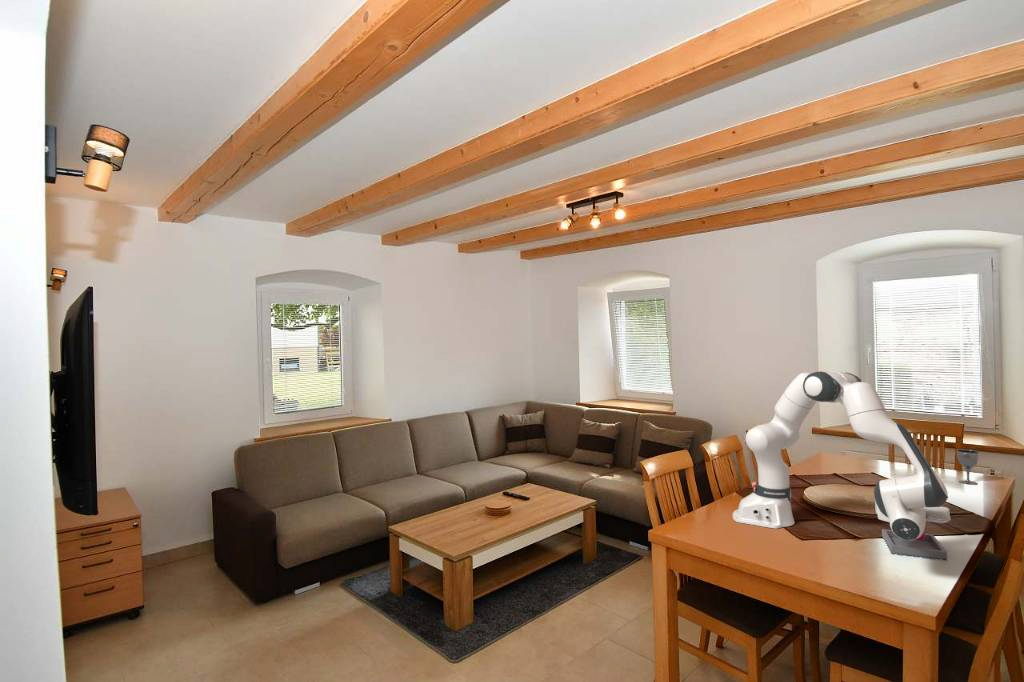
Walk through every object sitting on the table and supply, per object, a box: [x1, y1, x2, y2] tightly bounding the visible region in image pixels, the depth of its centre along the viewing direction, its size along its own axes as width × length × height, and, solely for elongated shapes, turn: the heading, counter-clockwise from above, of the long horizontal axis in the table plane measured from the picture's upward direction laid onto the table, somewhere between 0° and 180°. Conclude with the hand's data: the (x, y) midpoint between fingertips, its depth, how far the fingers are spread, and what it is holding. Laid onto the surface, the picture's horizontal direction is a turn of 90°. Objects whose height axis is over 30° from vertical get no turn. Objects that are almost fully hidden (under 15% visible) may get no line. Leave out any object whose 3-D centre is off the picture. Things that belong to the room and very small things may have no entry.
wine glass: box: [956, 448, 980, 486], centre depth 256 cm, size 8×8×15 cm
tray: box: [881, 528, 948, 562], centre depth 187 cm, size 15×16×3 cm
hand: (912, 503), depth 187 cm, fingers closed on pepper mill, 5 cm apart
